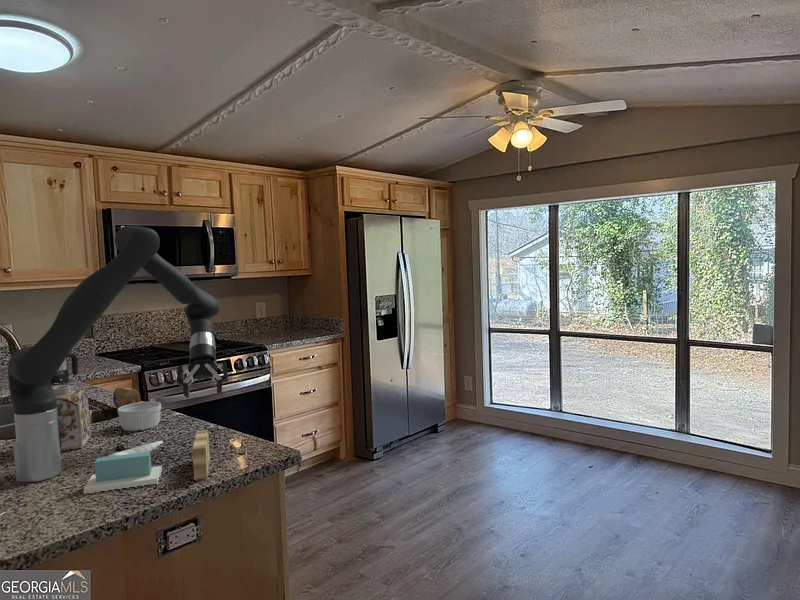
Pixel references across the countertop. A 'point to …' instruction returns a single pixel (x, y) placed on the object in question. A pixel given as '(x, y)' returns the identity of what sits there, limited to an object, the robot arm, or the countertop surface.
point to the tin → (125, 397)
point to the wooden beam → (201, 455)
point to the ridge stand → (122, 472)
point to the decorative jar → (72, 417)
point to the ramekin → (139, 415)
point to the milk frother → (65, 370)
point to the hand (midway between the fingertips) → (203, 394)
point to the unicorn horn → (139, 449)
